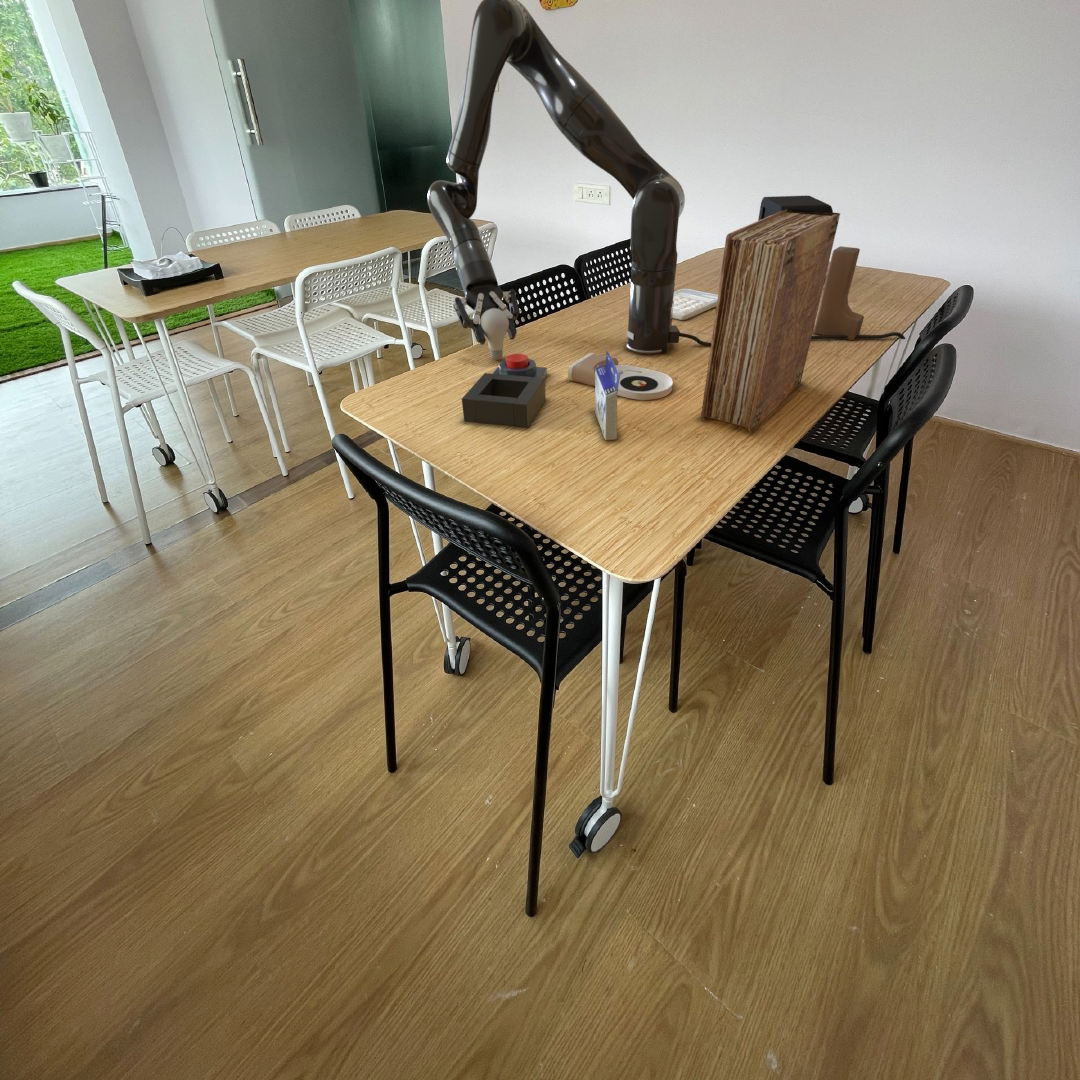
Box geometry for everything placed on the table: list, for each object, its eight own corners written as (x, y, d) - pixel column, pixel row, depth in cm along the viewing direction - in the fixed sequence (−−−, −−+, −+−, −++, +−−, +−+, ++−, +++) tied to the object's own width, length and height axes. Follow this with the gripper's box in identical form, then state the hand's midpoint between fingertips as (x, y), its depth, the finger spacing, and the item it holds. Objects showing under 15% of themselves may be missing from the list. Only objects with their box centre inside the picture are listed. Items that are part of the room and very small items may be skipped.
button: (531, 362, 125) (530, 354, 124) (524, 371, 122) (524, 362, 121) (510, 361, 126) (509, 352, 125) (503, 369, 123) (503, 360, 122)
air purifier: (820, 285, 174) (838, 205, 162) (768, 286, 175) (783, 207, 163) (797, 267, 191) (812, 194, 179) (749, 268, 191) (762, 195, 179)
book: (749, 433, 105) (787, 241, 87) (699, 420, 109) (725, 234, 91) (800, 383, 121) (841, 212, 103) (755, 373, 125) (786, 208, 107)
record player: (594, 350, 130) (683, 369, 121) (594, 364, 132) (681, 384, 122) (565, 368, 122) (657, 390, 113) (564, 383, 124) (655, 406, 115)
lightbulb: (507, 366, 132) (503, 313, 126) (479, 364, 133) (475, 313, 127) (513, 355, 137) (510, 304, 131) (487, 354, 138) (483, 304, 132)
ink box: (593, 412, 113) (594, 350, 106) (605, 411, 113) (608, 349, 106) (603, 441, 104) (606, 376, 97) (617, 440, 104) (620, 375, 97)
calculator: (639, 311, 160) (640, 303, 159) (683, 293, 171) (684, 286, 170) (683, 321, 153) (684, 313, 152) (725, 302, 164) (727, 295, 163)
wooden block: (859, 335, 141) (883, 250, 131) (853, 341, 139) (877, 254, 128) (819, 328, 146) (839, 245, 135) (812, 333, 143) (832, 249, 132)
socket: (545, 400, 118) (545, 377, 115) (527, 428, 109) (526, 404, 106) (486, 395, 121) (484, 372, 118) (464, 421, 111) (461, 398, 109)
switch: (547, 375, 128) (546, 358, 126) (536, 390, 122) (535, 373, 119) (501, 371, 130) (500, 355, 128) (488, 386, 124) (487, 369, 122)
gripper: (444, 262, 127) (469, 337, 125) (509, 254, 131) (533, 326, 130) (440, 283, 134) (463, 354, 132) (502, 275, 138) (525, 343, 137)
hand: (498, 340), depth 131 cm, fingers closed on lightbulb, 6 cm apart
